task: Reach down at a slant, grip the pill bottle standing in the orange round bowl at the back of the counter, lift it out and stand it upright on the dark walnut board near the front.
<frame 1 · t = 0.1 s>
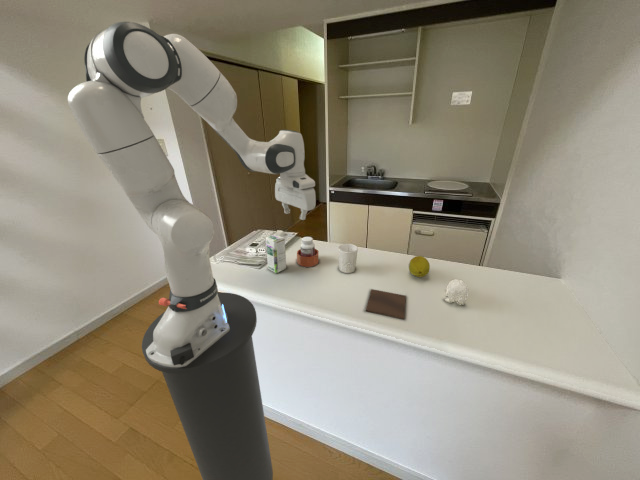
hand: (294, 216, 97), 24 cm above the countertop, tool pointing down, fingers open, 8 cm apart
orange round bowl: (308, 261, 114), on the countertop
pill bottle: (308, 261, 114), resting in orange round bowl
white cup: (347, 269, 108), on the countertop
walnut board: (386, 303, 87), on the countertop
lemon: (417, 275, 103), on the countertop
syrup box: (277, 269, 108), on the countertop
white lumpy piece: (453, 298, 90), on the countertop
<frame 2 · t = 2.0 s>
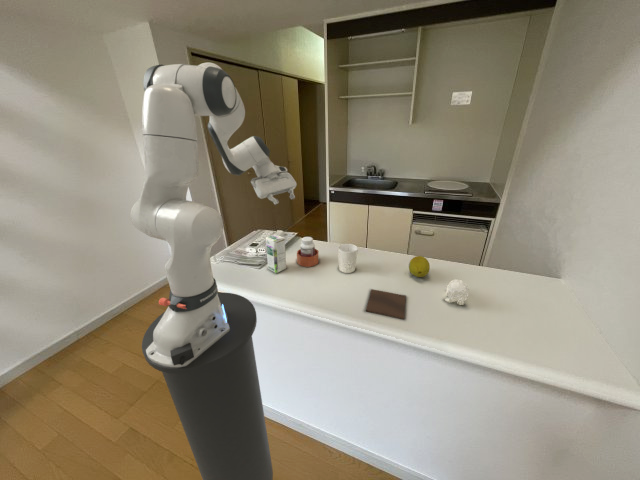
hand: (285, 201, 110), 26 cm above the countertop, tool tilted 45°, fingers open, 8 cm apart
nothing on the countertop moved.
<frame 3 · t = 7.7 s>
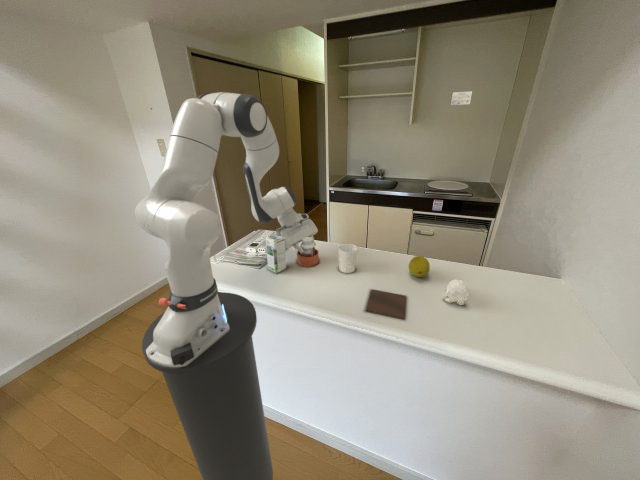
hand: (308, 248, 111), 6 cm above the countertop, tool tilted 45°, fingers closed on pill bottle, 6 cm apart
pill bottle: (308, 261, 114), resting in orange round bowl, touching gripper
everything else where it was.
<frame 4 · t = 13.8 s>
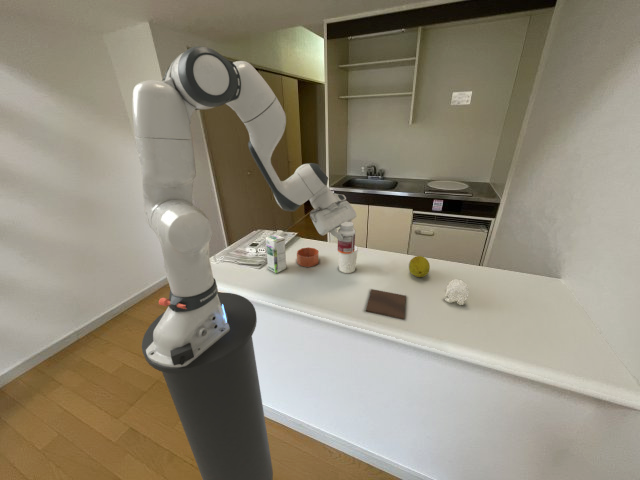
hand: (348, 236, 91), 19 cm above the countertop, tool tilted 45°, fingers closed on pill bottle, 6 cm apart
pill bottle: (345, 252, 94), point 13 cm above the countertop, touching gripper
everything else where it was.
when the fingers open (7 cm above the countertop, at t = 20.1 s): pill bottle stays where it is, resting on walnut board.
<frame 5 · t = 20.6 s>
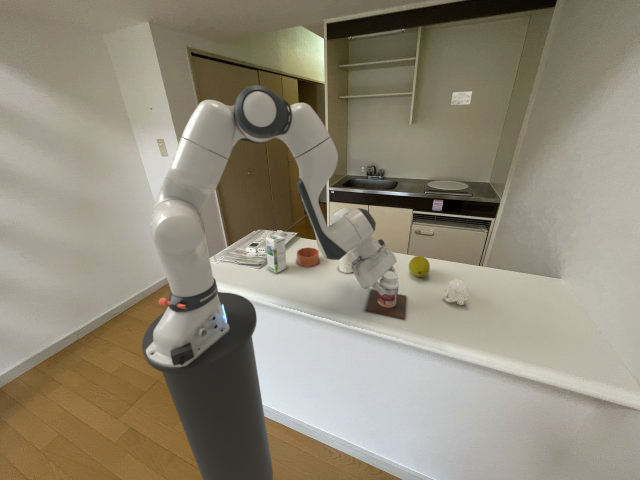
hand: (390, 286, 83), 7 cm above the countertop, tool tilted 45°, fingers open, 8 cm apart
pill bottle: (386, 302, 87), resting on walnut board
everything else where it was.
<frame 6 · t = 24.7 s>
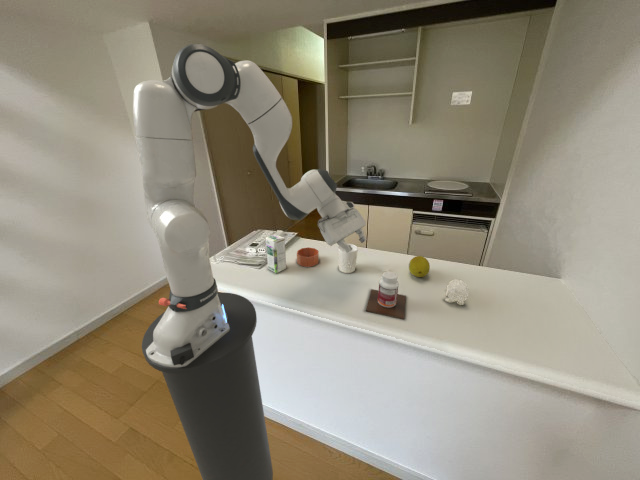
hand: (357, 246, 86), 18 cm above the countertop, tool tilted 45°, fingers open, 8 cm apart
nothing on the countertop moved.
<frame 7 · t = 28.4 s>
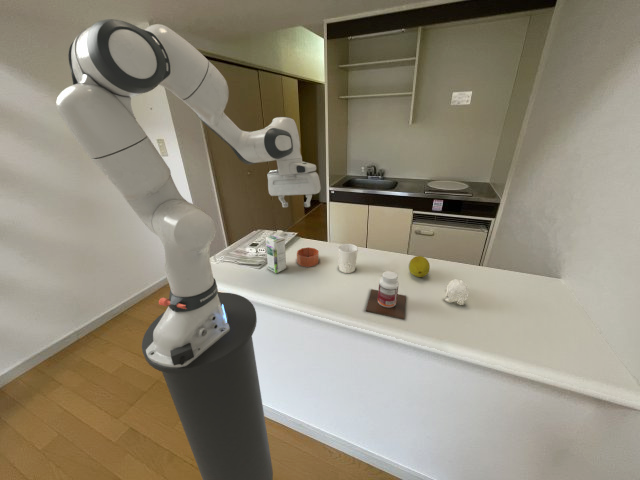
hand: (296, 206, 94), 28 cm above the countertop, tool pointing down, fingers open, 8 cm apart
nothing on the countertop moved.
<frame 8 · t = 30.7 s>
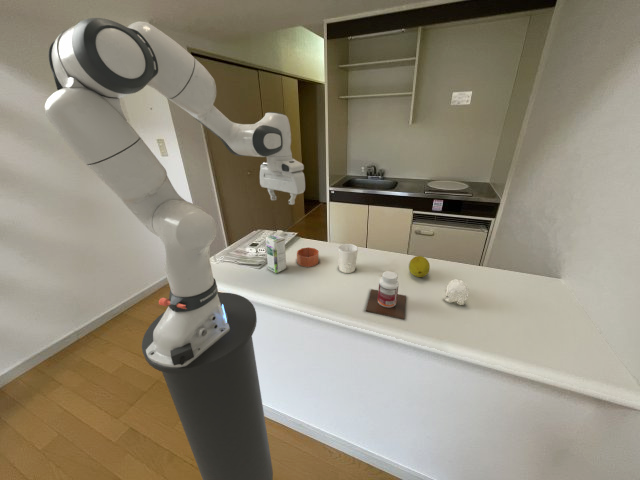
hand: (282, 202, 96), 29 cm above the countertop, tool pointing down, fingers open, 8 cm apart
nothing on the countertop moved.
at the end: pill bottle inside the target area on the walnut board (0.0 cm from its centre), point 0.4 cm above the walnut board's base; pill bottle tilted 0°; the gripper is holding nothing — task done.
